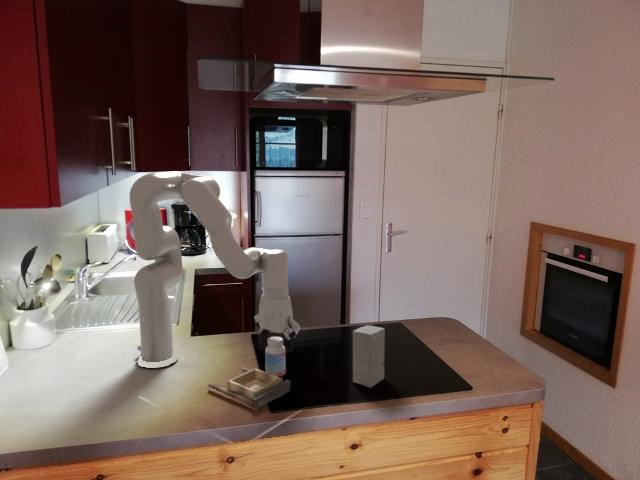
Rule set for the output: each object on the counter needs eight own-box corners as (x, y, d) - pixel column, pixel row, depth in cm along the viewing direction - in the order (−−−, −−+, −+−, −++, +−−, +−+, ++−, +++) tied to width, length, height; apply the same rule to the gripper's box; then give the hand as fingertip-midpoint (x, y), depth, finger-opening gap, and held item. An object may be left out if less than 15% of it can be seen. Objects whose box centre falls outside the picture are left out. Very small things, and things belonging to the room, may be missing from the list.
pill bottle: (282, 380, 150) (282, 343, 148) (262, 377, 151) (262, 342, 149) (287, 371, 156) (287, 336, 154) (268, 369, 157) (268, 334, 155)
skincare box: (370, 388, 145) (372, 336, 142) (349, 381, 149) (351, 330, 146) (385, 378, 151) (387, 327, 149) (365, 372, 156) (366, 322, 153)
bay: (208, 392, 142) (208, 380, 141) (244, 375, 153) (244, 364, 152) (255, 412, 131) (254, 400, 131) (290, 392, 142) (290, 380, 142)
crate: (227, 394, 140) (227, 380, 139) (254, 380, 148) (254, 368, 147) (255, 406, 133) (255, 392, 133) (282, 391, 142) (282, 378, 141)
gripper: (245, 290, 151) (247, 345, 154) (289, 299, 141) (291, 358, 144) (262, 284, 157) (264, 337, 160) (306, 293, 147) (307, 349, 150)
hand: (277, 347), depth 152 cm, fingers open, 9 cm apart
